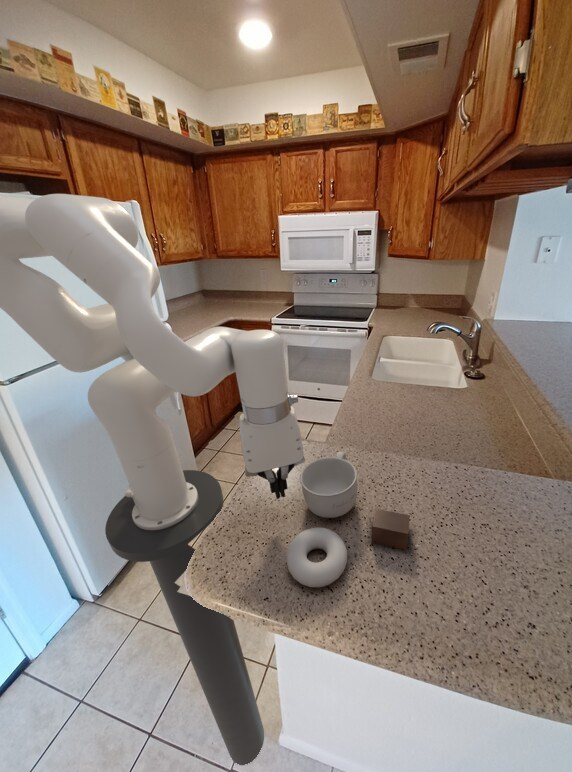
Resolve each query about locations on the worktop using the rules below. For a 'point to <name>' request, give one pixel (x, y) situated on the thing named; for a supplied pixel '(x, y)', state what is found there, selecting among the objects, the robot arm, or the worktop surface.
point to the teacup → (329, 486)
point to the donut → (318, 571)
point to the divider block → (390, 529)
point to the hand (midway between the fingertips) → (279, 492)
